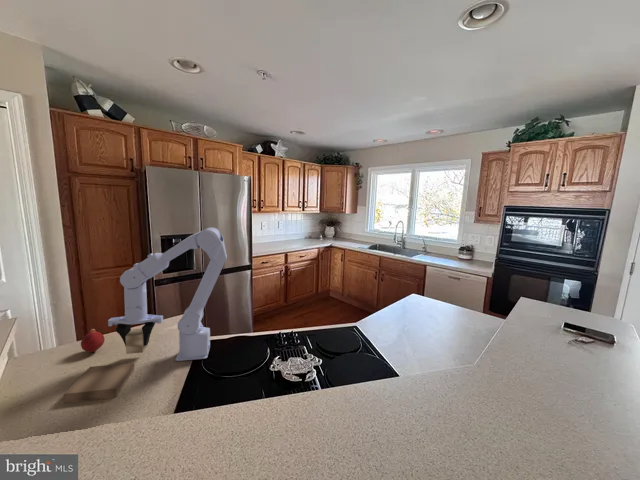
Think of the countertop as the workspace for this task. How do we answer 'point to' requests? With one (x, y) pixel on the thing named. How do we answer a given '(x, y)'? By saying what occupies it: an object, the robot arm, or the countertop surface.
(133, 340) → the beech block
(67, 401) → the walnut block
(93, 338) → the onion
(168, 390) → the countertop surface
